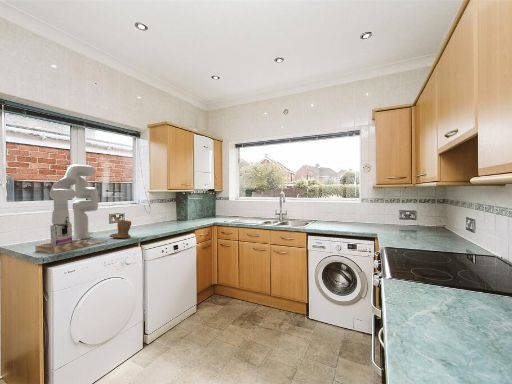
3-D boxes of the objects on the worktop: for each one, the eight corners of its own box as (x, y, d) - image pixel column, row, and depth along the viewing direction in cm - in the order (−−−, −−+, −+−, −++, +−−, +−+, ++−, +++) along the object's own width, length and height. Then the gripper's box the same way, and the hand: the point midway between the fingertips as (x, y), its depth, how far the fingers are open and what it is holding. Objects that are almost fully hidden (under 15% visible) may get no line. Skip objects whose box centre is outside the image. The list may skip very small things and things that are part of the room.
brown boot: (134, 236, 206) (134, 219, 206) (122, 239, 195) (122, 221, 195) (121, 236, 211) (121, 218, 211) (108, 238, 200) (108, 220, 200)
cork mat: (100, 241, 190) (100, 240, 190) (107, 241, 188) (107, 240, 188) (83, 244, 176) (83, 244, 176) (91, 245, 175) (91, 244, 175)
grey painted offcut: (68, 242, 174) (68, 239, 174) (80, 242, 175) (80, 239, 175) (65, 243, 171) (65, 240, 171) (78, 243, 172) (78, 239, 172)
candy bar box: (66, 246, 171) (66, 222, 171) (72, 246, 170) (72, 223, 170) (50, 250, 160) (49, 225, 160) (56, 250, 159) (56, 225, 159)
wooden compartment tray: (69, 244, 178) (68, 239, 178) (87, 245, 174) (87, 239, 174) (35, 251, 157) (35, 245, 157) (55, 253, 153) (55, 246, 153)
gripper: (45, 207, 163) (45, 234, 164) (65, 207, 159) (65, 235, 159) (57, 206, 171) (57, 232, 171) (76, 206, 166) (76, 233, 167)
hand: (61, 233), depth 165 cm, fingers closed on candy bar box, 5 cm apart
